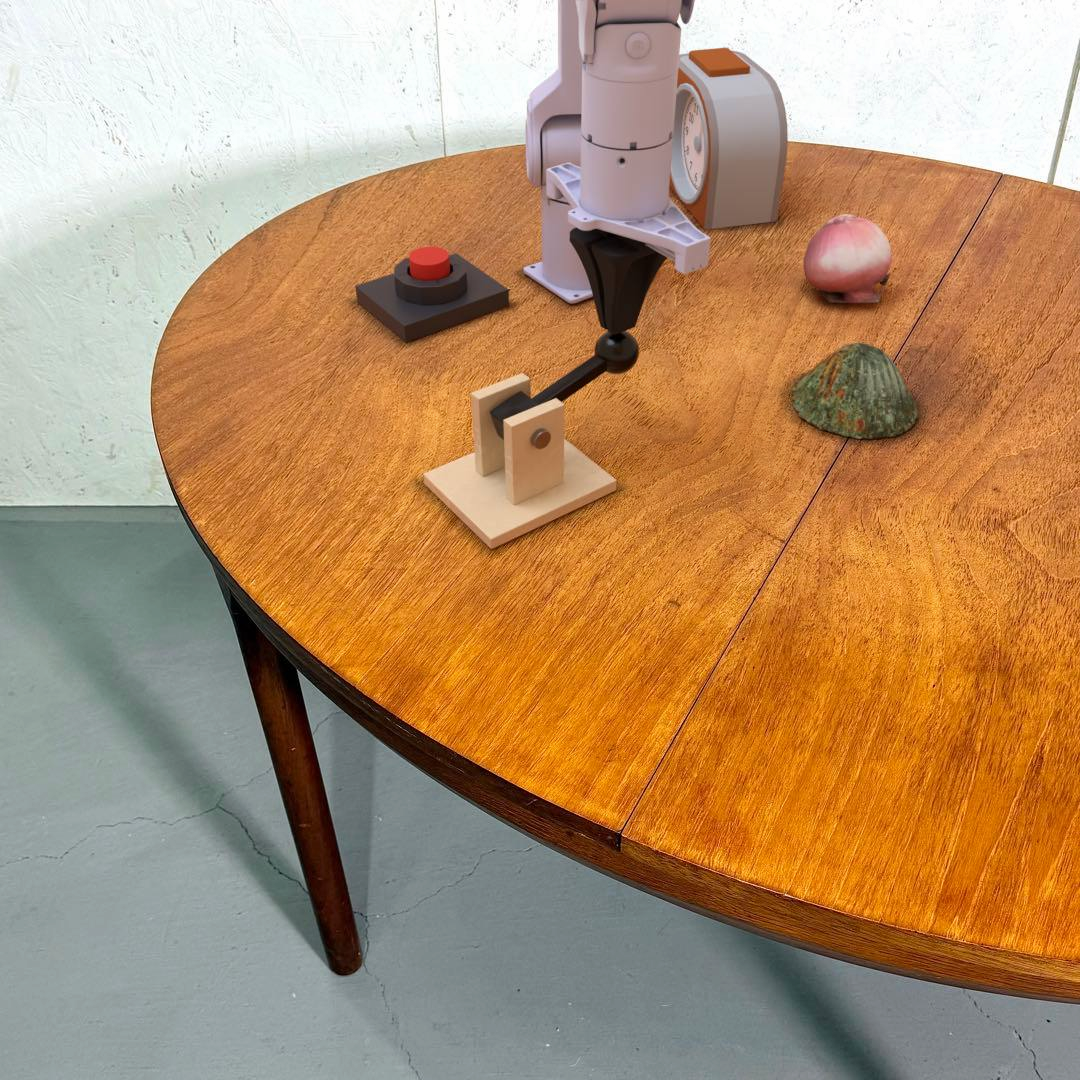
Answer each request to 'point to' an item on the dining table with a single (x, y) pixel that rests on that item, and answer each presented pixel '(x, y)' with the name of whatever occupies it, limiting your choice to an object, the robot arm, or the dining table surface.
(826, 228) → the onion
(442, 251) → the button
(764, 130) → the alarm clock
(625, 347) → the black lever handle
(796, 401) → the seashell
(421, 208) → the dining table surface
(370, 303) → the control block
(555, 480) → the lever base
